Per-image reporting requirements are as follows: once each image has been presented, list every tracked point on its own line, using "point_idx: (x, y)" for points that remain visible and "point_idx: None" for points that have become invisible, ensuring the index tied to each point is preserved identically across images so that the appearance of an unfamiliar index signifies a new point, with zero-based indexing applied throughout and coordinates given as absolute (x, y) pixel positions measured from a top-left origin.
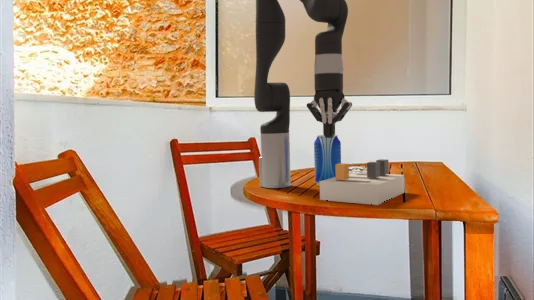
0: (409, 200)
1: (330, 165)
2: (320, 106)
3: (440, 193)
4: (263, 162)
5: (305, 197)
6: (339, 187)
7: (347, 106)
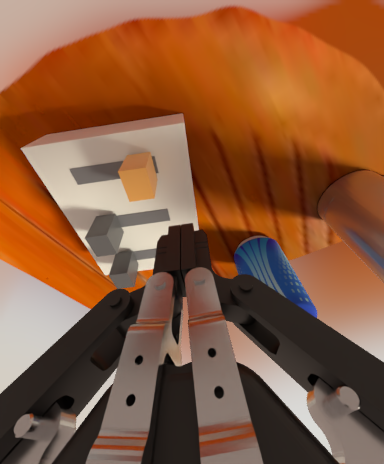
0: (52, 207)
1: (252, 267)
2: (241, 397)
3: (72, 269)
4: None
5: (231, 123)
6: (126, 128)
7: None
